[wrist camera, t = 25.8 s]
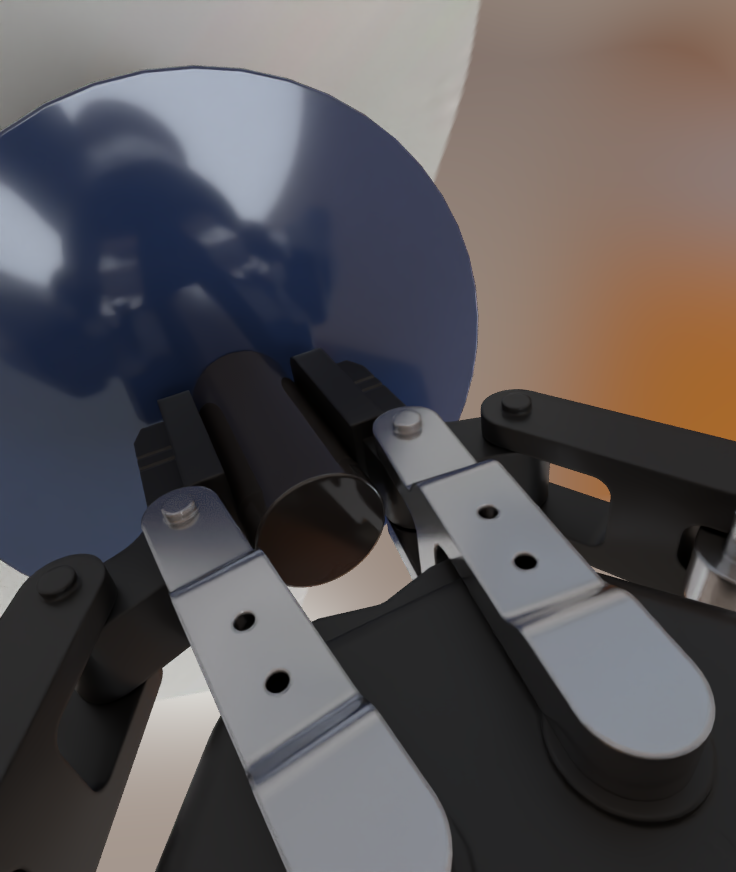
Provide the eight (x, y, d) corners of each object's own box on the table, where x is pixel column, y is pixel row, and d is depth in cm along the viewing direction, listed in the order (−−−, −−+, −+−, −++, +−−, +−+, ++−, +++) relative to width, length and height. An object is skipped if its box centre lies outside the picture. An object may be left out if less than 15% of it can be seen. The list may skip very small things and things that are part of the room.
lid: (70, 652, 17) (77, 898, 12) (-295, 142, 9) (-723, 225, 4) (466, 483, 21) (600, 616, 16) (444, 18, 13) (697, -19, 8)
